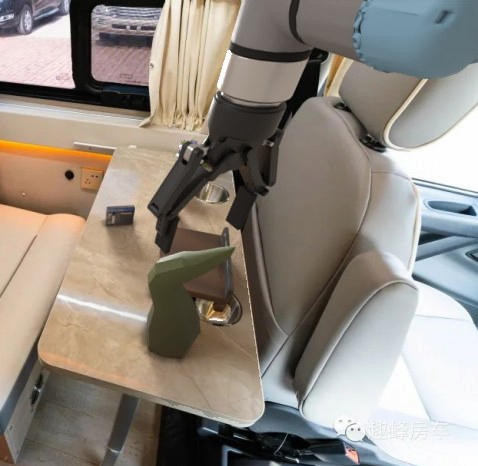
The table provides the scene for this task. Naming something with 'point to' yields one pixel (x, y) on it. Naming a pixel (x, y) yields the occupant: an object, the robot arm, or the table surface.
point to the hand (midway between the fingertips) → (198, 235)
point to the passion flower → (182, 145)
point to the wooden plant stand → (214, 282)
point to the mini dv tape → (119, 215)
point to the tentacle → (177, 299)
